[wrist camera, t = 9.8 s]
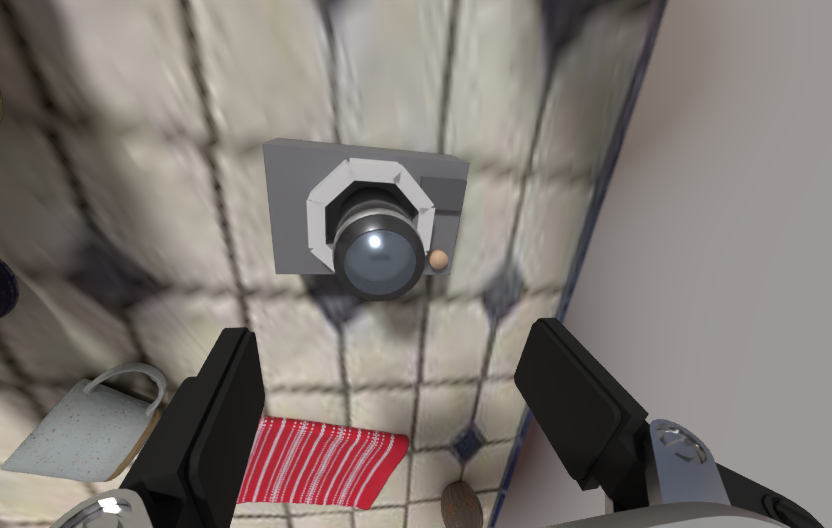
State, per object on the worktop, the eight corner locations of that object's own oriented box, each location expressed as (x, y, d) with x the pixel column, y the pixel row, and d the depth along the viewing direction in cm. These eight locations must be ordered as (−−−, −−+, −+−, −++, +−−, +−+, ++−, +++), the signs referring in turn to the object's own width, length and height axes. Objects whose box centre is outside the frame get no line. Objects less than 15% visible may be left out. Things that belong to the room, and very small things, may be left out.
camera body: (277, 137, 25) (254, 146, 19) (450, 155, 28) (479, 167, 22) (286, 249, 29) (270, 286, 23) (435, 252, 32) (456, 285, 26)
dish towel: (367, 496, 52) (368, 514, 49) (213, 488, 43) (206, 510, 41) (412, 430, 46) (415, 447, 44) (245, 406, 37) (238, 426, 35)
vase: (442, 478, 53) (458, 540, 45) (477, 475, 55) (499, 534, 47) (432, 500, 55) (446, 563, 48) (466, 497, 57) (485, 556, 50)
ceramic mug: (140, 433, 35) (92, 508, 29) (55, 407, 32) (-23, 486, 25) (193, 377, 34) (155, 443, 27) (110, 342, 30) (42, 409, 23)
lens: (337, 182, 22) (331, 214, 15) (408, 188, 24) (434, 220, 16) (337, 249, 25) (331, 304, 17) (402, 251, 26) (421, 304, 19)
